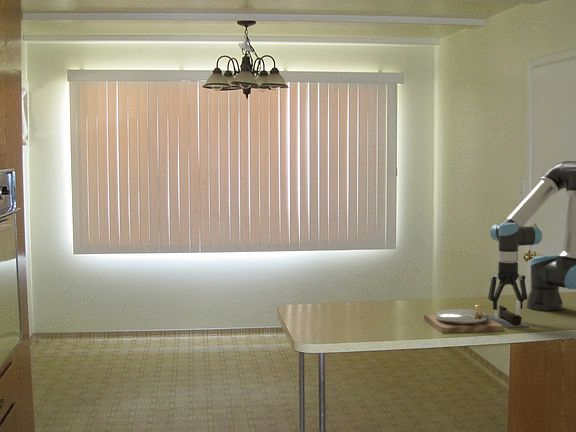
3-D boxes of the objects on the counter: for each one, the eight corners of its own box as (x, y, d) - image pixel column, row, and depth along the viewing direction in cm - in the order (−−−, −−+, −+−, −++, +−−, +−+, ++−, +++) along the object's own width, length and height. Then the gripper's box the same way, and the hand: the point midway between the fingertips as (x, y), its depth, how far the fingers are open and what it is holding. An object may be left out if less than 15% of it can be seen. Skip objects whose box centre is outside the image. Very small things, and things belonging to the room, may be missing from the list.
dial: (499, 320, 296) (500, 303, 295) (461, 326, 286) (461, 308, 285) (463, 312, 313) (463, 295, 313) (426, 317, 303) (426, 300, 303)
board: (480, 317, 313) (480, 312, 313) (503, 330, 289) (503, 324, 289) (424, 319, 311) (424, 314, 310) (441, 332, 287) (441, 326, 287)
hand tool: (522, 325, 296) (522, 313, 296) (511, 325, 296) (512, 313, 295) (504, 315, 315) (505, 304, 314) (495, 315, 314) (495, 304, 314)
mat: (507, 315, 317) (507, 314, 317) (529, 327, 295) (529, 325, 295) (486, 316, 316) (486, 314, 316) (507, 328, 294) (507, 326, 294)
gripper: (529, 259, 308) (528, 314, 310) (479, 260, 306) (479, 316, 308) (537, 262, 301) (536, 318, 303) (486, 263, 299) (485, 320, 301)
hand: (507, 317), depth 305 cm, fingers open, 8 cm apart
